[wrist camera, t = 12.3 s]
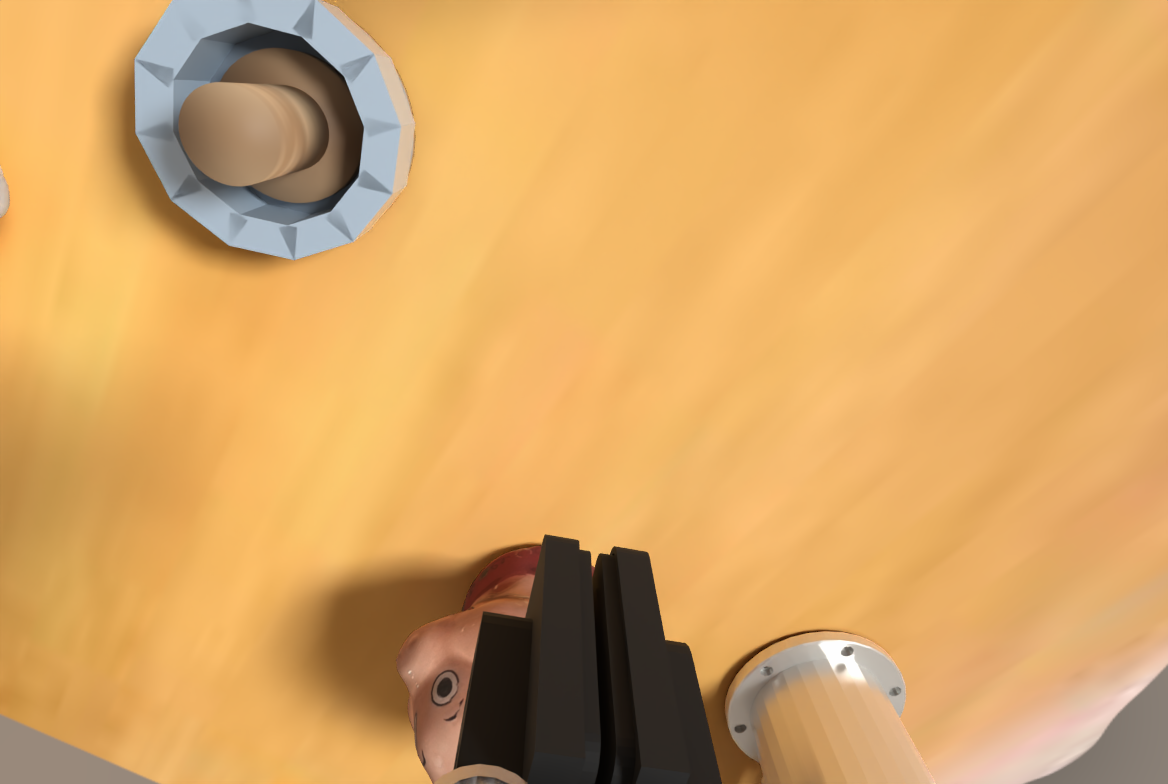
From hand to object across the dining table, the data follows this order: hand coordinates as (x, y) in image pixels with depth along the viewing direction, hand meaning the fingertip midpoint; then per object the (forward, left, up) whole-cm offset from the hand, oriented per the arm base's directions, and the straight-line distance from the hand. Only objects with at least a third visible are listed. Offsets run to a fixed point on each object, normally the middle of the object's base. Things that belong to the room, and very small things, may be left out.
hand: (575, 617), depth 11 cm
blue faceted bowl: (+3, +13, -27) cm, 30 cm away
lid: (+3, +13, -26) cm, 29 cm away
